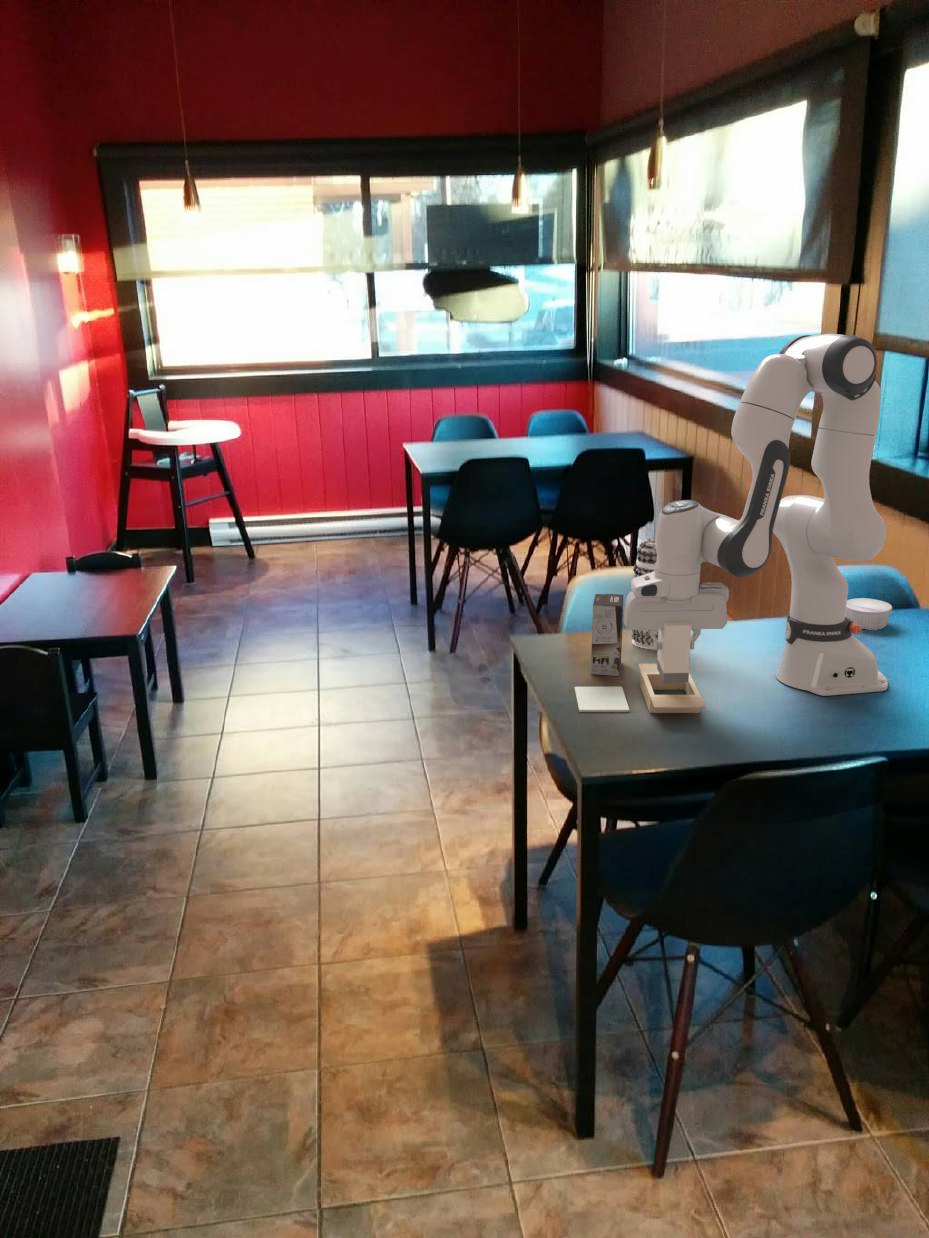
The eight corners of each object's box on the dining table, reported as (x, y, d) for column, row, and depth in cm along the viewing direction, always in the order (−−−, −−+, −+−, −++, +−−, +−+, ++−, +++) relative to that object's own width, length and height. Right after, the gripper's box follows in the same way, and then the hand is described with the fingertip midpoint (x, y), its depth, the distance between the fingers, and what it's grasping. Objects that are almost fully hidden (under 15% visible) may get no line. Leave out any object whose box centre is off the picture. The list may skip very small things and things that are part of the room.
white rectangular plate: (621, 688, 211) (621, 686, 211) (629, 711, 200) (629, 709, 200) (574, 688, 211) (574, 686, 211) (579, 712, 200) (579, 709, 200)
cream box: (681, 667, 207) (683, 612, 203) (688, 682, 200) (691, 625, 196) (656, 667, 207) (659, 612, 204) (663, 682, 200) (665, 625, 196)
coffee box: (619, 676, 218) (622, 606, 213) (590, 674, 219) (592, 604, 214) (621, 661, 226) (624, 593, 221) (593, 660, 227) (595, 592, 222)
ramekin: (846, 631, 244) (848, 610, 242) (837, 616, 254) (840, 597, 253) (894, 633, 242) (897, 612, 240) (884, 618, 253) (886, 598, 251)
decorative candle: (623, 645, 236) (627, 542, 228) (640, 634, 243) (644, 534, 235) (659, 652, 231) (664, 548, 223) (675, 641, 239) (681, 539, 231)
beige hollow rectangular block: (683, 678, 216) (684, 663, 215) (705, 723, 194) (706, 706, 193) (637, 678, 216) (637, 663, 215) (653, 723, 194) (654, 706, 193)
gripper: (726, 577, 200) (721, 642, 204) (623, 579, 201) (621, 644, 205) (733, 587, 194) (728, 653, 198) (627, 588, 195) (625, 655, 199)
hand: (673, 648), depth 202 cm, fingers closed on cream box, 5 cm apart
